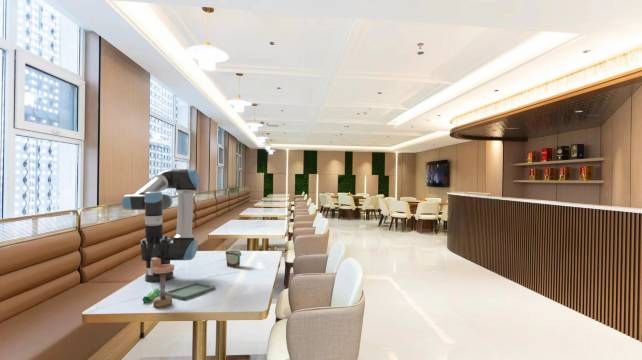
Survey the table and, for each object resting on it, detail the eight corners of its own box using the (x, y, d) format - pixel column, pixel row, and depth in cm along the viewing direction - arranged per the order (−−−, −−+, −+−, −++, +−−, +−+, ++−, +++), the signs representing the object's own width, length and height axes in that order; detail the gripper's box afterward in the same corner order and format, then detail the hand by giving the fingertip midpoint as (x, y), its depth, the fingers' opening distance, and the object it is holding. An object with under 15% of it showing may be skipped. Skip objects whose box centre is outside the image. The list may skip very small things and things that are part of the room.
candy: (151, 293, 180) (156, 286, 180) (157, 296, 180) (161, 290, 180) (140, 301, 168) (145, 294, 168) (147, 305, 168) (152, 298, 168)
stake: (149, 306, 164) (149, 276, 163) (164, 300, 171) (164, 272, 170) (160, 309, 160) (160, 279, 160) (175, 303, 167) (175, 275, 166)
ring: (161, 274, 159) (160, 263, 159) (142, 270, 166) (142, 260, 165) (178, 269, 167) (177, 259, 167) (159, 266, 173) (159, 256, 173)
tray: (184, 300, 171) (184, 297, 171) (163, 295, 179) (163, 292, 179) (215, 289, 189) (215, 286, 189) (195, 284, 196) (195, 281, 196)
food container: (245, 266, 236) (245, 251, 235) (238, 268, 230) (238, 253, 230) (232, 264, 242) (232, 249, 242) (225, 266, 237) (225, 251, 237)
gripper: (142, 227, 159) (142, 279, 159) (174, 222, 173) (174, 270, 174) (132, 226, 163) (132, 276, 163) (164, 221, 177) (164, 268, 178)
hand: (154, 273), depth 168 cm, fingers closed on ring, 3 cm apart
